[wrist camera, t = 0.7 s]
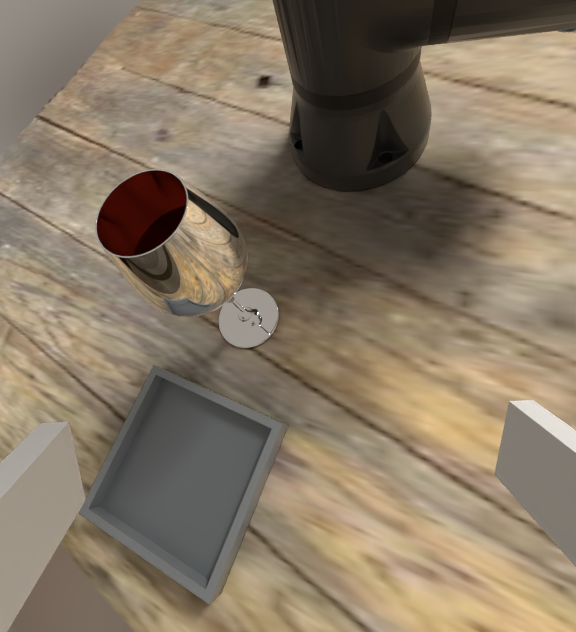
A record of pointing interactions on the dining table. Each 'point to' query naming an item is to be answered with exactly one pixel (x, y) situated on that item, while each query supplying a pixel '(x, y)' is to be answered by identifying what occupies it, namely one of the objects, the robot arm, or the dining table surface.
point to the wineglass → (183, 254)
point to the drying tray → (185, 480)
